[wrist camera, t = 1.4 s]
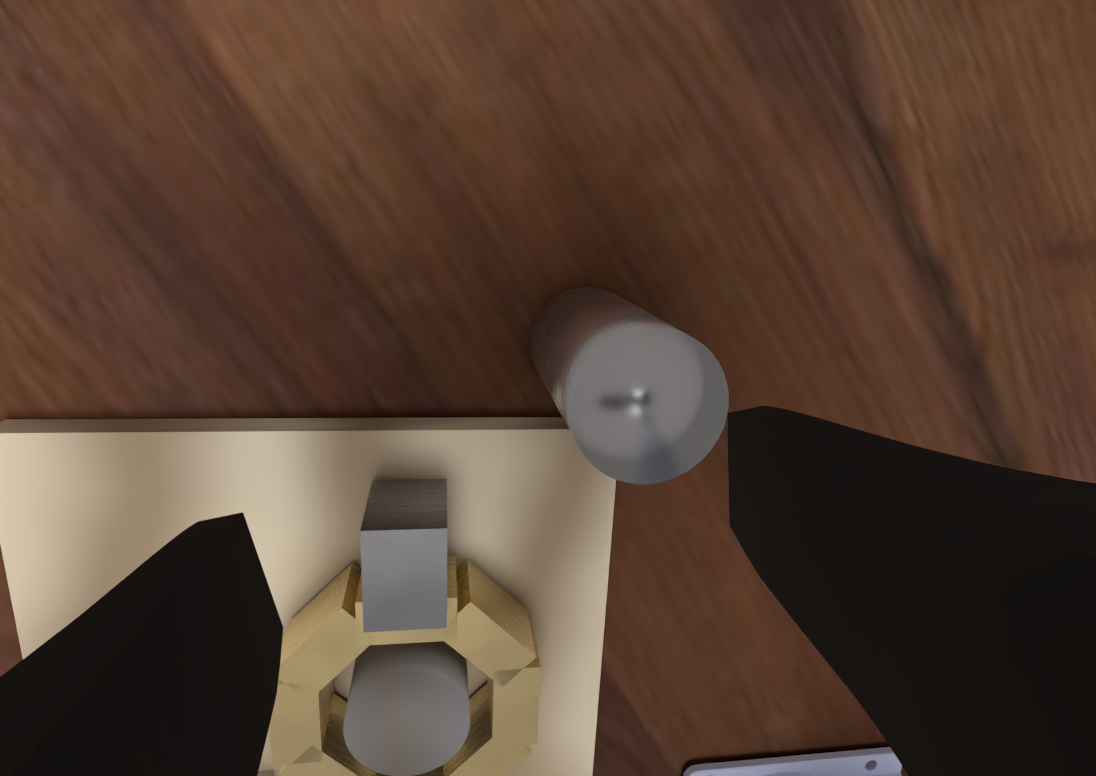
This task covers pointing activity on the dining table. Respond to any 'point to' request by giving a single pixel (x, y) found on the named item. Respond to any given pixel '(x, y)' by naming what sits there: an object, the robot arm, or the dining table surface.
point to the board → (332, 547)
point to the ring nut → (407, 640)
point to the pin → (629, 385)
